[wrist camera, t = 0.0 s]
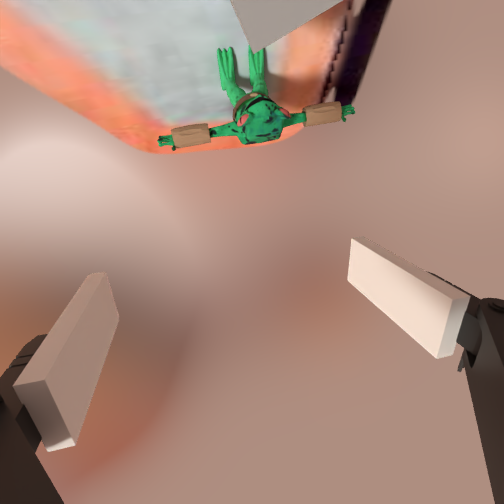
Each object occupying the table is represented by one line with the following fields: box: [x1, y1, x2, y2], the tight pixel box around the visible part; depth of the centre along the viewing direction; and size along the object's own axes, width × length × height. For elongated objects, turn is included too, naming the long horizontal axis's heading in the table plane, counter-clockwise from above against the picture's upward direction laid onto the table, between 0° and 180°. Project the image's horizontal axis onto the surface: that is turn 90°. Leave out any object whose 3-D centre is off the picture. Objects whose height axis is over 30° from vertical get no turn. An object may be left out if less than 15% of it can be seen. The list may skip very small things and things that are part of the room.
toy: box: [158, 45, 355, 151], centre depth 36 cm, size 26×6×15 cm, turn 92°
